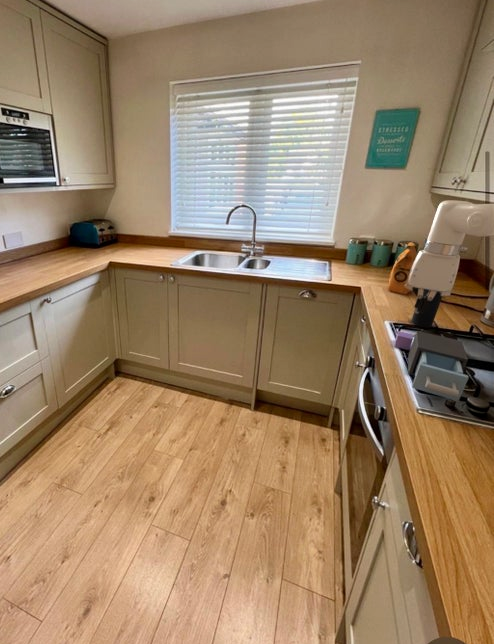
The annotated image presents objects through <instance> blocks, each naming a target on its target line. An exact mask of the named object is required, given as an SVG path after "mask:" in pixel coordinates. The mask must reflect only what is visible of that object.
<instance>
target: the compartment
mask: <svg viewBox="0 0 494 644" xmlns="http://www.w3.org/2000/svg"><path fill="white" fill-rule="evenodd" d="M421 351H424V352H428V353H432V354H436V355H440V356H444V357H448V358H452V359H456V360H460V364H461V367H462V371H463V372H464V370H465V368H466V365H467V363H468V361H469V359H468V355H467V352H466V349H465V346H464V343H463V340H459V339H455V338H450V337H446V336H441V335H438V334H433V333H428V332H423V331H419V330H416V332H415V334H414V337H413V340H412V343H411V346H410V349H409V352H408V355H407V372H408V373H407V374H408V375H409V376H414V377H415V367H416V364H417V361H418V359H419V356H420V353H421Z"/></svg>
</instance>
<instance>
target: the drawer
mask: <svg viewBox="0 0 494 644" xmlns="http://www.w3.org/2000/svg"><path fill="white" fill-rule="evenodd" d="M468 380H469V375H468V374H464V370H463V371H462V367H461V364H460V360H456V359H452V358H448V357H444V356H440V355H436V354H432V353H428V352H424V351H421V353H420V356H419V359H418V361H417V364H416V367H415V376H414V379H413V381H412V384H411V388H412V389H415V390H419V391H422V392H425V393H429V394H432V395H436V396H438V397H442V398H445V399H449V400H453V401H455V402H459V401H460V399H461V397H462V394H463V392H464V389H465V388H466V385H467V382H468Z"/></svg>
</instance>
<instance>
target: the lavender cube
mask: <svg viewBox="0 0 494 644" xmlns="http://www.w3.org/2000/svg"><path fill="white" fill-rule="evenodd" d="M413 340H414V337H413V334H412V333H409V332H405V331H401V330H398V331H397V334H396V336H395V339H394V347H395V348H398V349H403V350H405V351H410V349H411V346H412V343H413Z"/></svg>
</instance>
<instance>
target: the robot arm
mask: <svg viewBox="0 0 494 644" xmlns="http://www.w3.org/2000/svg"><path fill="white" fill-rule="evenodd" d="M466 235H469V236H473V237H479V238H480V237H481V238H482V237H492V236H494V203H473V202H471V201H466V200H465V201H464V200H456V199H455V200H451V199H450V200H442V201H441V202H440V203H439V205H438V207H437V209H436V212H435V215H434V218H433V221H432V224H431V227H430V230H429V232H428V236H427V239H426V242H425V245H424V248H423V249H421V250H419V252H417V257H416V259H415V261H414V263H413V266H412V268H411V271H410V274H409V277H408V281H407V283H406V284H405V288H406V289H409V290H410V291H412V293H414V294H415V296H416V300H415V303H414V306H413V307H414V309H415V308H416V312H421V313H423V312H424V310H427V308H428V305H429V303H430V301H431V300H432V299H434V298H436V297H439V296H443V297H450V296H451V294H452V293H451V292H452V289H453V287H454V285H455V281H456V278H457V274H458V270H459V268H460V267H459V266H460V260H461V256H460V254H461V253H467V252H468V247H467V246H466V247H465V246H463V242H464V240H465V236H466ZM424 289H428V290H429V292H428V294H427V295H426V296H425V298H423V291H424Z"/></svg>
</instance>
